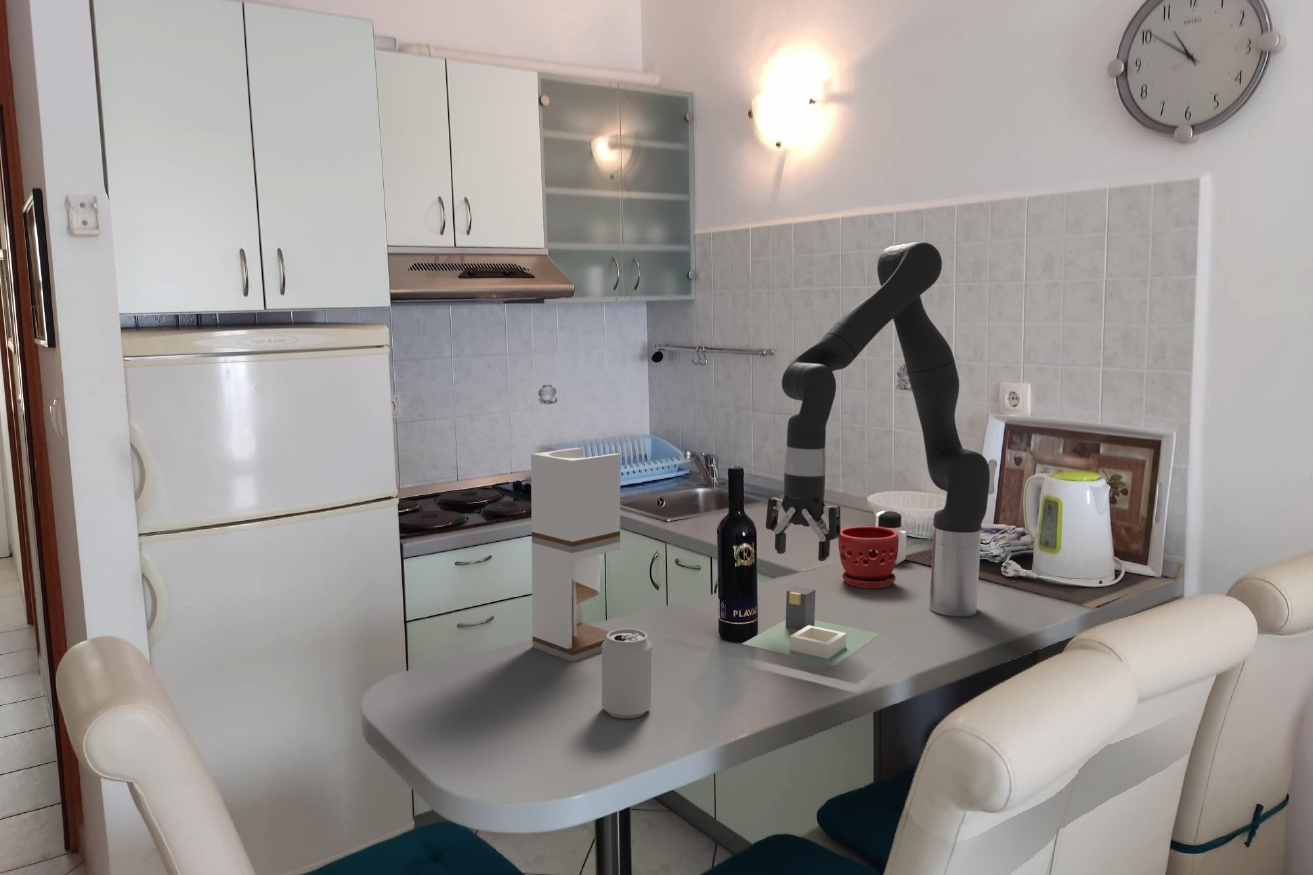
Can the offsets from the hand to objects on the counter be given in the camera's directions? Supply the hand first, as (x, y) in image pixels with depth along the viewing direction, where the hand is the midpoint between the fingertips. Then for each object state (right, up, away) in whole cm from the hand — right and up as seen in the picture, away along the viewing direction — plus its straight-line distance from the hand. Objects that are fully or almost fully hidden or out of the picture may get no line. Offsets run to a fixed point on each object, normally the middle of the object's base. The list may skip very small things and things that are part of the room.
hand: (801, 556), depth 180 cm
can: (-32, -19, -34) cm, 51 cm away
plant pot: (+20, -11, +35) cm, 42 cm away
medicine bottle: (+29, -8, +55) cm, 63 cm away
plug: (0, -13, +2) cm, 13 cm away
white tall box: (-42, -16, -7) cm, 45 cm away
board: (+1, -15, -5) cm, 16 cm away
